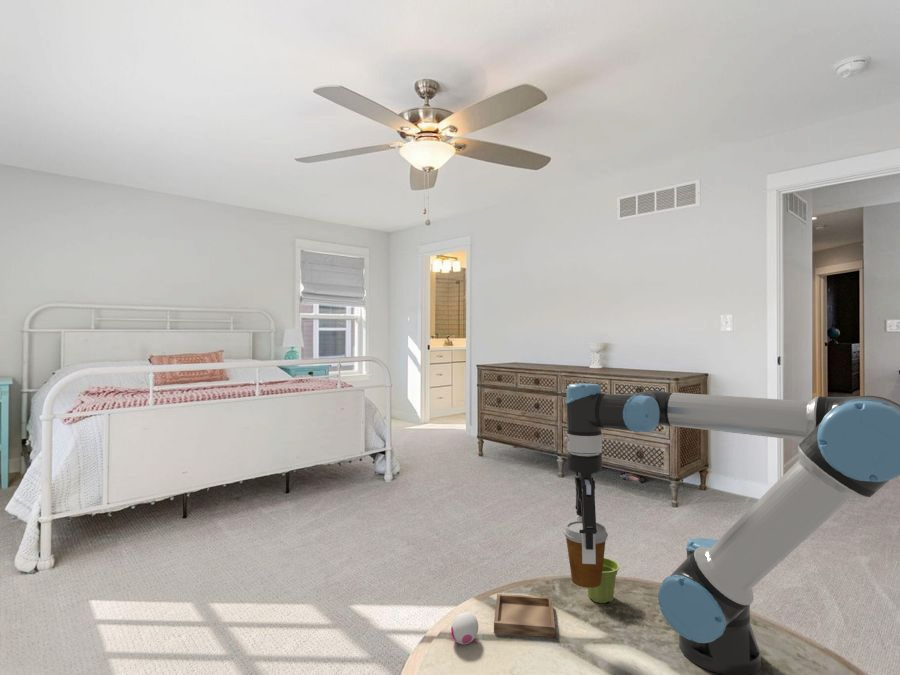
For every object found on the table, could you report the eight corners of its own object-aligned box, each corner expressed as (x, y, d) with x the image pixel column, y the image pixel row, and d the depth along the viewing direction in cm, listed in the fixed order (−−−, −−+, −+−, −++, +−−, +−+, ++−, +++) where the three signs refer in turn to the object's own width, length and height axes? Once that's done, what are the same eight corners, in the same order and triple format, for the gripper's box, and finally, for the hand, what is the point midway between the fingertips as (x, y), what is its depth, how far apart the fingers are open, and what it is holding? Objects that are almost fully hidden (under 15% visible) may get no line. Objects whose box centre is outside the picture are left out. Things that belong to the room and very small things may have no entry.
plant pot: (579, 602, 126) (578, 568, 127) (584, 586, 135) (584, 554, 135) (618, 610, 123) (617, 574, 123) (620, 593, 132) (620, 559, 132)
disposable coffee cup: (611, 593, 106) (610, 536, 106) (564, 589, 107) (564, 533, 108) (606, 573, 115) (605, 521, 115) (563, 570, 117) (563, 518, 117)
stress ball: (459, 645, 114) (443, 619, 115) (488, 628, 113) (471, 601, 114) (453, 665, 106) (436, 636, 107) (484, 646, 105) (466, 617, 106)
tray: (551, 606, 125) (551, 597, 125) (555, 637, 111) (555, 627, 111) (497, 602, 127) (497, 593, 127) (493, 632, 113) (493, 622, 113)
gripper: (563, 443, 124) (564, 534, 123) (571, 463, 102) (573, 574, 101) (594, 443, 122) (596, 536, 122) (610, 463, 101) (612, 576, 100)
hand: (585, 553), depth 111 cm, fingers closed on disposable coffee cup, 9 cm apart
